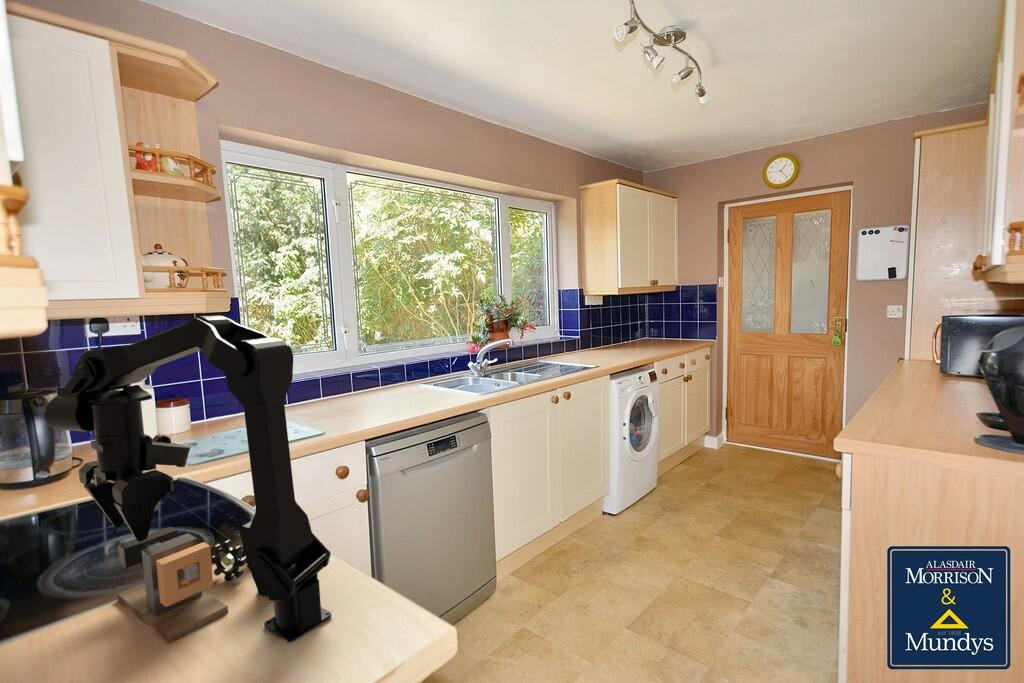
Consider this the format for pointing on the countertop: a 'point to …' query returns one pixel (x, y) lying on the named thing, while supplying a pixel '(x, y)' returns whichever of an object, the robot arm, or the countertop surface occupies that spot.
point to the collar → (170, 564)
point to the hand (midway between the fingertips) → (130, 533)
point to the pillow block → (151, 574)
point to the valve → (228, 560)
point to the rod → (133, 549)
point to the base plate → (174, 613)
